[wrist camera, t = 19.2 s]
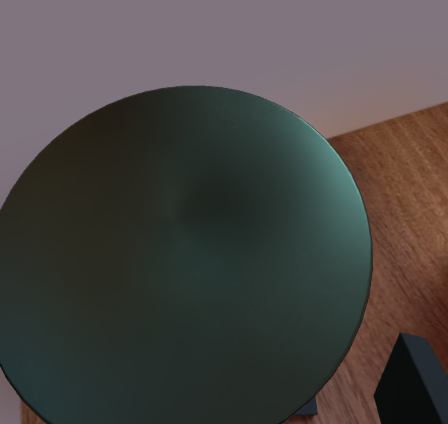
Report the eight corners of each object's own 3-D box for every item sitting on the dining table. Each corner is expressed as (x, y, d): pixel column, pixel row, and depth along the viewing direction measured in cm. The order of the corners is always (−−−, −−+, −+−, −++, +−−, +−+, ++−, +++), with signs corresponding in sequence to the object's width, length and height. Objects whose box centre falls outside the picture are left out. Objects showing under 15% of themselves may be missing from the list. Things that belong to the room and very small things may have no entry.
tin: (168, 381, 18) (-90, 462, 4) (174, 268, 20) (36, 92, 7) (284, 380, 17) (428, 465, 4) (274, 265, 20) (337, 75, 7)
